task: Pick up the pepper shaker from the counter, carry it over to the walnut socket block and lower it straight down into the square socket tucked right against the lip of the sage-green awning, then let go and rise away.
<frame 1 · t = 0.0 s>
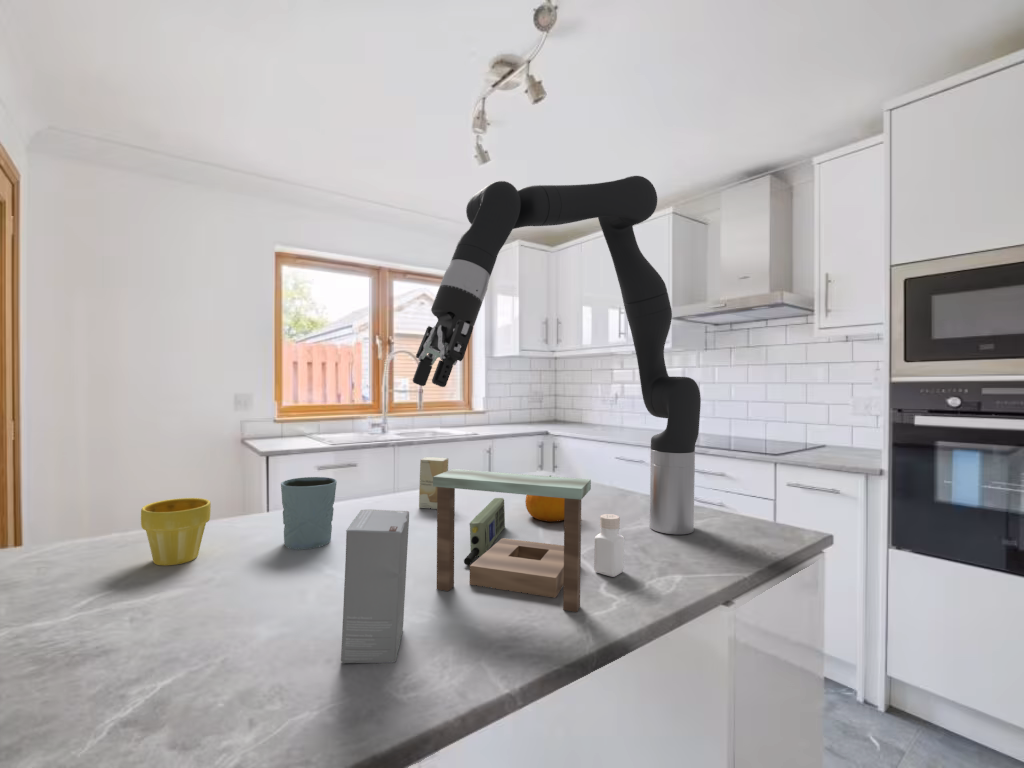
hand: (427, 384, 83), 31 cm above the worktop, tool tilted 20°, fingers open, 8 cm apart
fruit: (550, 518, 121), on the worktop
handheld radio: (485, 546, 101), on the worktop
skincare box: (376, 648, 63), on the worktop
skincare box 2: (433, 507, 129), on the worktop
pepper shaker: (609, 573, 87), on the worktop
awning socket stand: (528, 570, 88), on the worktop
teal cup: (309, 542, 102), on the worktop
plant pot: (176, 560, 91), on the worktop
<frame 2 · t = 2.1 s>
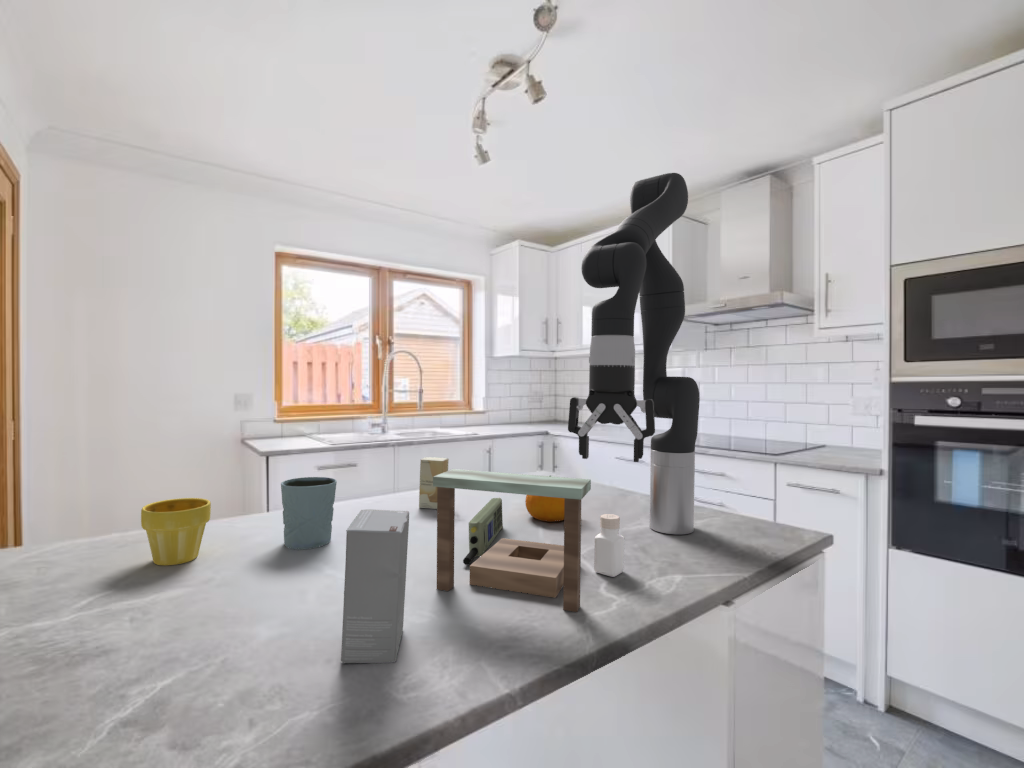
hand: (610, 459, 87), 19 cm above the worktop, tool pointing down, fingers open, 8 cm apart
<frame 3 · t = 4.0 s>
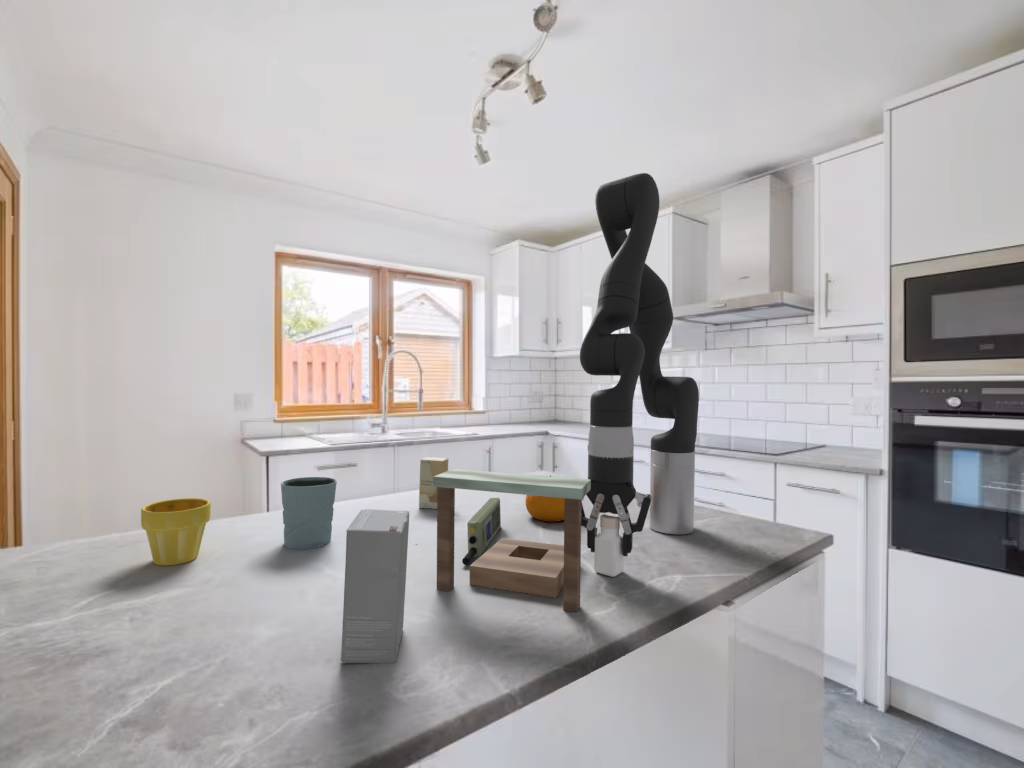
hand: (609, 552, 87), 3 cm above the worktop, tool pointing down, fingers closed on pepper shaker, 4 cm apart
pepper shaker: (609, 573, 87), on the worktop, touching gripper
everything else where it was.
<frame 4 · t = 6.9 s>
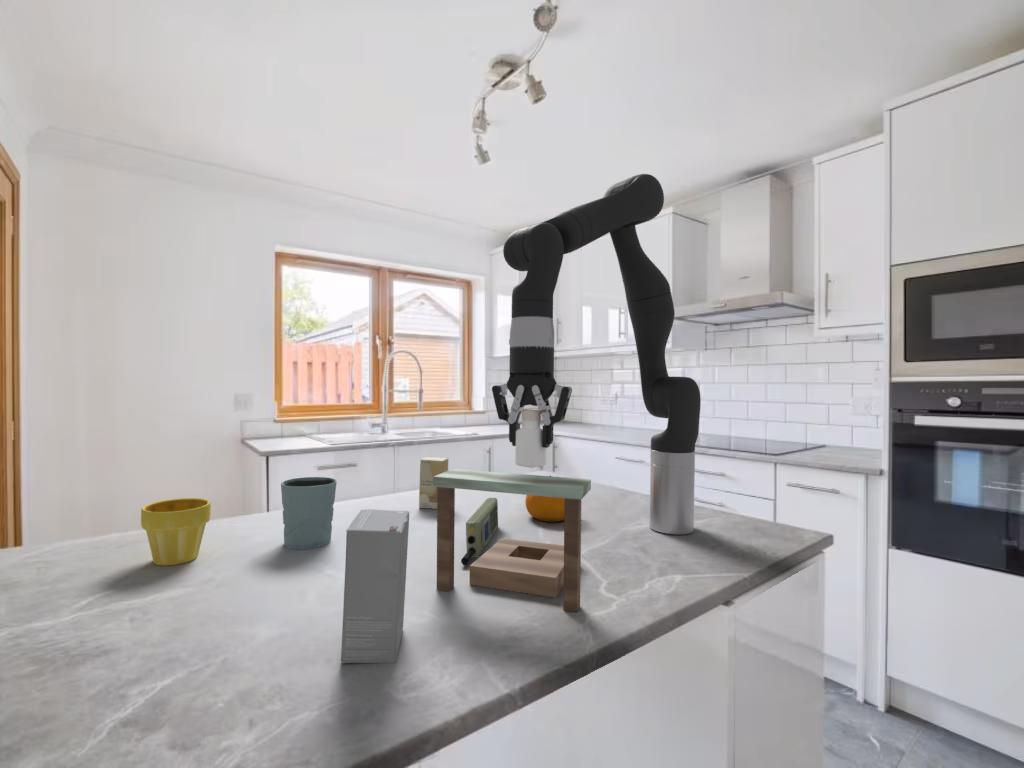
hand: (530, 445, 87), 21 cm above the worktop, tool pointing down, fingers closed on pepper shaker, 4 cm apart
pepper shaker: (530, 467, 87), point 18 cm above the worktop, touching gripper
when the fingers open (4 cm above the worktop, at t = 9.7 s): pepper shaker stays where it is, resting in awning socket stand.
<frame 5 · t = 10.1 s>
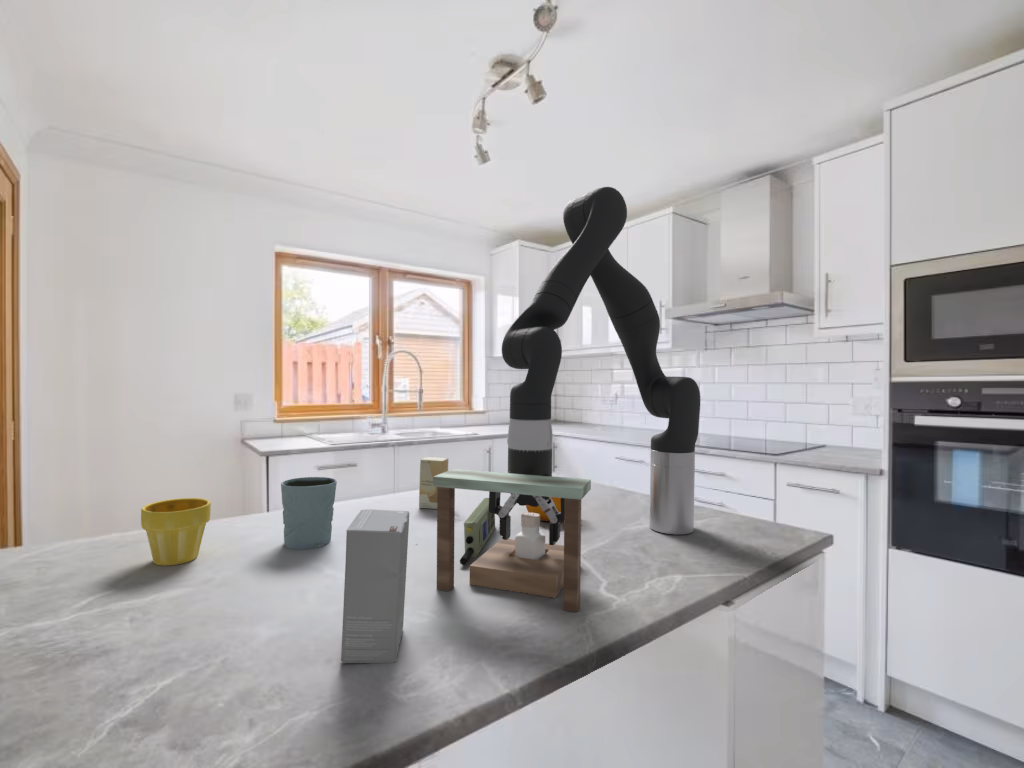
hand: (529, 541, 88), 5 cm above the worktop, tool pointing down, fingers open, 8 cm apart
pepper shaker: (530, 571, 88), resting in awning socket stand
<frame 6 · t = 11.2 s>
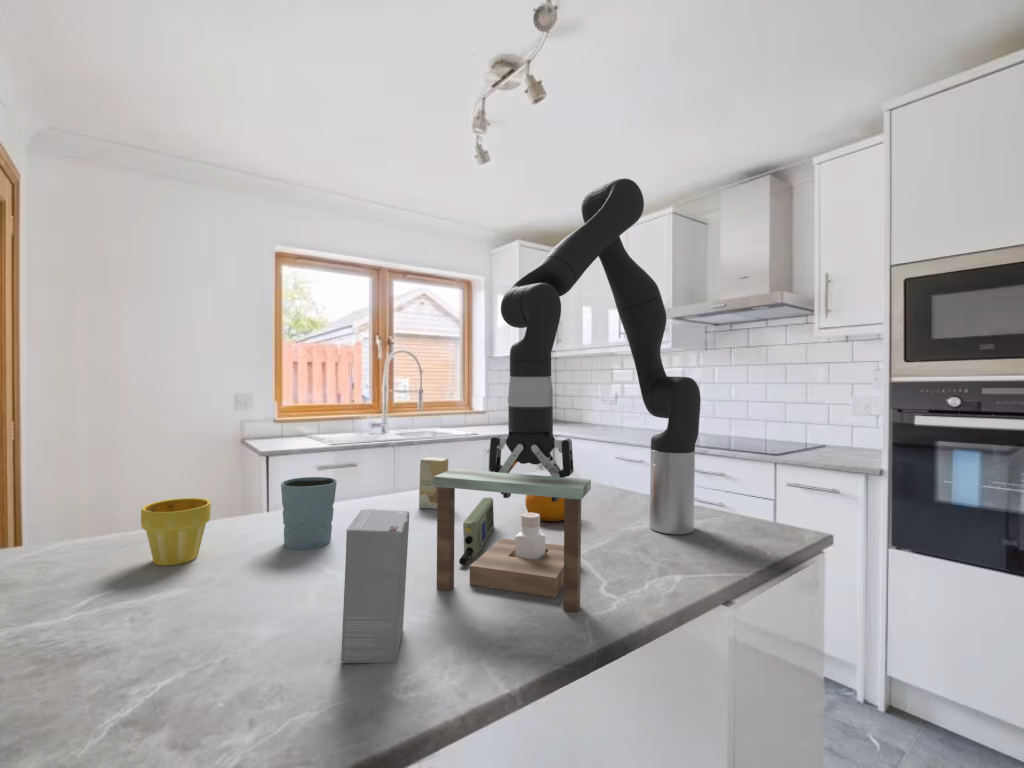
hand: (530, 498, 88), 12 cm above the worktop, tool pointing down, fingers open, 8 cm apart
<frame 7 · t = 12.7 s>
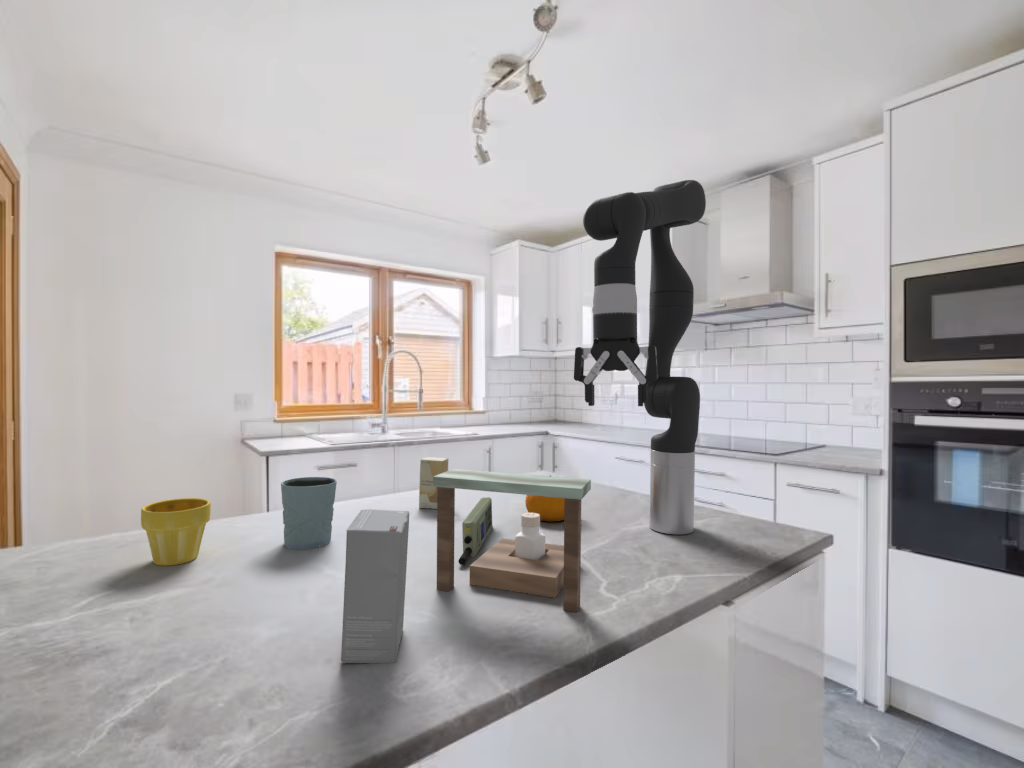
hand: (615, 405, 90), 28 cm above the worktop, tool pointing down, fingers open, 8 cm apart
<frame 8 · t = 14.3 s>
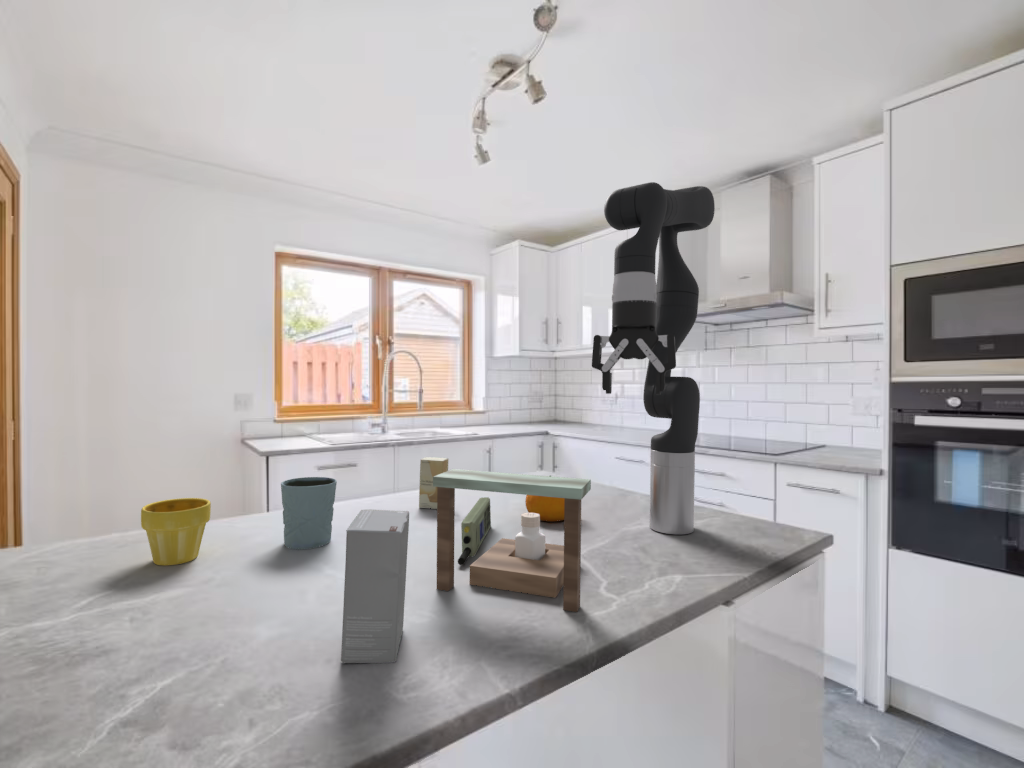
hand: (632, 393, 91), 30 cm above the worktop, tool pointing down, fingers open, 8 cm apart
at the end: pepper shaker 0.2 cm off-centre on the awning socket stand, point 0.0 cm above the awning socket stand's base; pepper shaker tilted 0°; the gripper is holding nothing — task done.
